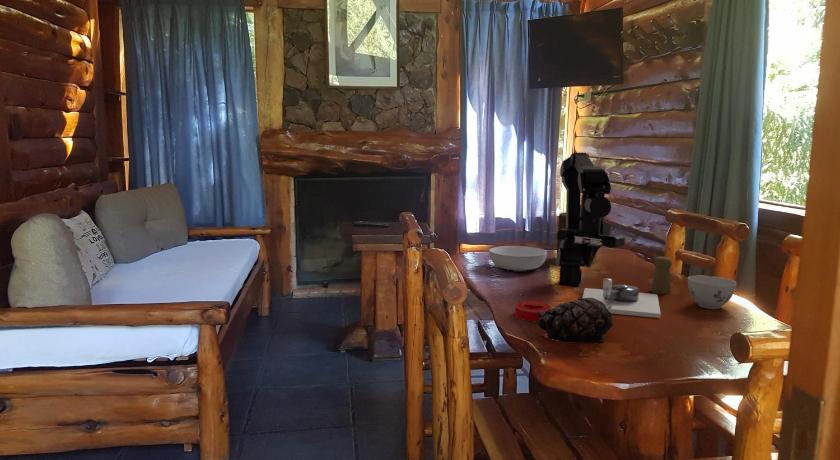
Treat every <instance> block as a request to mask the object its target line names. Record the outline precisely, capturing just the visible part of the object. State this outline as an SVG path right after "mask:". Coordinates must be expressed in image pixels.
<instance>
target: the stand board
mask: <svg viewBox="0 0 840 460" xmlns="http://www.w3.org/2000/svg"><path fill="white" fill-rule="evenodd" d="M581 297H582V298H594V299H597V300H599V301H601V302H603V303H604V304H605V306H606V308H607V309H608V310H609V312H610V313H611V314H614V315H615V314H616V315H624V316H633V317H634V316H636V317H645V318H658V319H661V309H660V303H659V296H658V293H648V292H647V293H646V292H639V297H638V300H637V301H633V302H623V301H617V300H610V301H609V300H605V299H604V297H603V289H600V288H589V287H588V288H587V287H585V288H584V291H583V294H582V296H581Z"/></svg>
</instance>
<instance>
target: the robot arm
mask: <svg viewBox="0 0 840 460" xmlns="http://www.w3.org/2000/svg"><path fill="white" fill-rule="evenodd" d="M559 168H560V169H559V176H560V177H561V183H562V185H563V186H564V188H565V190H566V198H565V199H566V201H565V202H566V203H565V213H566V228H565V229H559V230H558V229H557V232H556V240H557V239H560V240H562V241H561V243H560V248H559V250H558V253H557V252H556V257H555V258H556V259H555V263H556V265H557V266H558V267H559V280H558V285H561V286H571V287H579V286H580V284H582V279H583V269H582V268H581V267H586V268H591V266H592V265H593V264H592V262H593V259H594V257H595V255H596V256H597V253H598V251H599V249H600V248H601V247H608V248H618V247H624V246H625V241H626V240H625V238H624V236H623V235H622V234H616V233H611V231H612V225H611V224H609V223H608V222H605V219H604V218H605V217H607V216H608V215H609V214H610V213H611V210H612V203H611V201H610V200H609V198H608V197H606V196H605V195H610V194H611V190H612V185H611V181H610V176H609V175H608V173H607V172H606V169H605V168H603V167H601V166H596V165H595V164H594V163H593V161H592V160H591V158H590V155H589V153H588V152H572V153H570V156H569V157H568V158H565V159H564V160H562V163H561V165H560V167H559ZM580 205H581V213H580ZM588 240H589V241H588ZM561 261H563V262H561Z"/></svg>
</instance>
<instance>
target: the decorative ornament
mask: <svg viewBox="0 0 840 460" xmlns="http://www.w3.org/2000/svg"><path fill="white" fill-rule="evenodd" d="M548 309H553V307H552V306H551V305H550V304H549V303H545V302H542V301H535V300H525V301H521V302H518V303H516V304H515V309H514V310H515V312H514V313H515V314H514V315H516V316H517V317H518V318H517V317H516V316H515V317H516V318H517V319H519V318H521V319H524V320H523V321H525V320H529V321H528V322H533V321H536V319H537V318H538V317H539V313H541V311H543V312H546V311H547V310H548ZM521 319H520V320H521Z"/></svg>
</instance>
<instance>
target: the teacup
mask: <svg viewBox="0 0 840 460" xmlns="http://www.w3.org/2000/svg"><path fill="white" fill-rule="evenodd" d="M687 286H688V291H689V294H690V296H691V297H692V299H693V301H694V302H695V303H696V304H697V306H699V307H700V308H704V309H709V310H719V309H722V307H723V306H724V305H726V304H727V303H728V302H729V301H730V300H731V298H732V297H733V295H734V293H735V290H736V287H737V281H735V280H732V279H729V278H725V277H722V276H721V277H719V276H714V275H713V276H709V275H704V274H703V275H700V274H699V275H691V276H690V275H689V276H688V277H687Z"/></svg>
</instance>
